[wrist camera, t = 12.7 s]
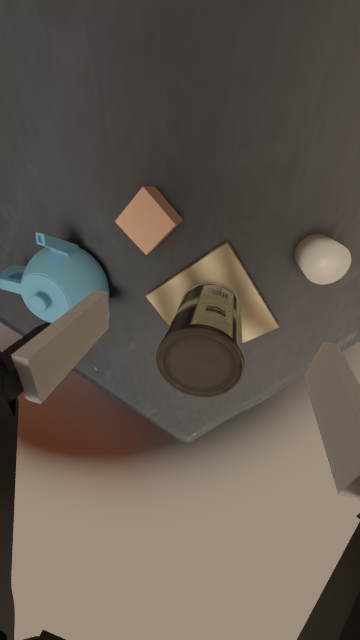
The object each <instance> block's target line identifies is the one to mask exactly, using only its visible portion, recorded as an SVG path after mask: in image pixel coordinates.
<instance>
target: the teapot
mask: <svg viewBox="0 0 360 640" xmlns="http://www.w3.org/2000/svg"><path fill="white" fill-rule="evenodd" d="M36 239H37V244H39V245H42V246H44V248H43V249H41V250H40V251H38V252H37V253H36V254H35V255H34V256H33V257H32V258H31V260H30V261H29V262H28V264H27V266H12V265H10V266H9V267H7V268H6V269H5V270H4V271H2V272H1V273H0V289H3V290H7V291H11V292H14V293H18V294H21V295H22V298H23V300H24V302H25V304H26V305H27V307H28V308H29V309H30V310H31V311H32V312H33V313H34V314H35V315H36V316H38V317H39V318H41V319H43V320H45V321H48V322H52V323H53V322H55V321H56V320H57V319H59V318H60V317H61V316H62V315H64V314H65V313H66V312H68V311H69V310H70V309H72V308H73V307H74V306H75V305H77V304H78V303H79V302H81V301H82V300H83V299H85V298H86V297H87V296H88V295H90V294H91V293H92V292H94V291H95V290H101V291H105V292H107V294H108V317H109V318H110V300H109V286H108V281H107V278H106V275H105V273H104V271H103V269H102V267H101V266H100V264H99V263H98V262H97V261H96V260H95V259H94V258H93V257H92V256H91V255H90V254H89V253H88V252H86V251H85V250H83V249H81V248H79V246H78V245H77V244H74V243H71V242H68V241H65V240H62V239H59V238H56V237H52V236H49V235H46V234H43V233H39V232H36Z"/></svg>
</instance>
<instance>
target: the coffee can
mask: <svg viewBox="0 0 360 640" xmlns="http://www.w3.org/2000/svg"><path fill="white" fill-rule="evenodd" d="M241 314H242V307H241V303H240V300H239V298H238V297H237V295H236V294H235V293H234V292H233V291H232V290H231V289H230V288H228V287H226V286H224V285H222V284H219V283H214V282H205V283H201V284H197V285H195V286H193V287H192V288H190V289H189V290H188V291H187V292H186V293H185V294H184V296H183V298H182V300H181V303H180V306H179V308H178V310H177V312H176V314H175V316H174V319H173V321H172V323H171V325H170V327H169V329H168V331H167V333H166V335H165V338H164V339H163V340H162V342H161V343H160V345H159V347H158V350H157V355H156V361H157V366H158V369H159V371H160V373H161V375H162V376H163V378H164V379H165V380H166V381H167V382H168V383H169V384H170V385H171V386H173V387H174V388H176V389H177V390H179V391H181V392H183V393H186V394H188V395H192V396H197V397H215V396H219V395H223V394H225V393H227V392H229V391H231V390H232V389H233V388H235V387H236V386H237V385H238V383H239V382H240V381H241V379H242V376H243V373H244V358H243V352H242V322H241Z"/></svg>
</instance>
